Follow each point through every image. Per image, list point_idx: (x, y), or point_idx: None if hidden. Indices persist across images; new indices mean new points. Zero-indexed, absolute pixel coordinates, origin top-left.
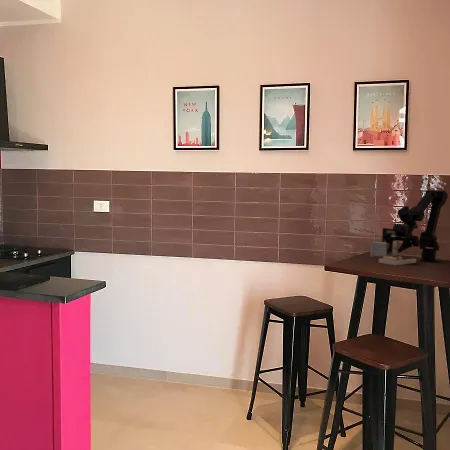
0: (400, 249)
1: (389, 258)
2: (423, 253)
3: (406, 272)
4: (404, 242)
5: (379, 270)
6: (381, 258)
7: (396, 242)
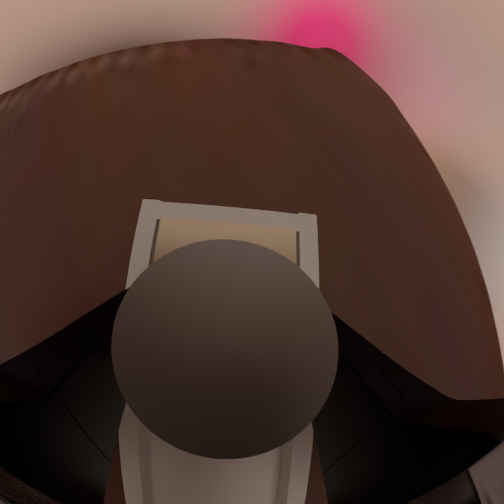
0: (110, 305)
1: (221, 225)
2: None
3: (64, 139)
4: (5, 380)
5: (182, 84)
6: (315, 249)
7: (167, 269)
